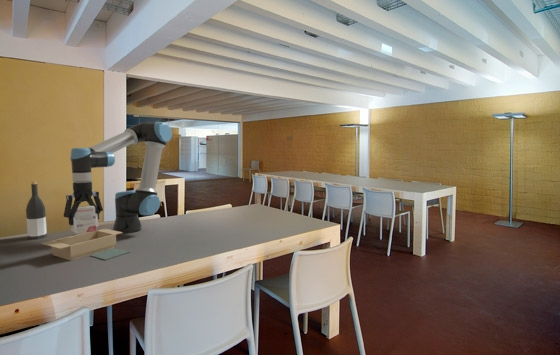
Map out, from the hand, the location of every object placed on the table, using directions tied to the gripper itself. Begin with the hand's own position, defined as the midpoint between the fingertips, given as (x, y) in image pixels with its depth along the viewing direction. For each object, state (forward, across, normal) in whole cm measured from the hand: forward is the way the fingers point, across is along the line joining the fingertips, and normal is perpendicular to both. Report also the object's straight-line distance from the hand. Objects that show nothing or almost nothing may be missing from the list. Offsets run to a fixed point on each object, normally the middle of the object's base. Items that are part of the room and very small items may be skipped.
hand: (85, 229), depth 149 cm
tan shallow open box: (+10, 0, 0) cm, 10 cm away
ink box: (+1, 0, 0) cm, 1 cm away
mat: (+10, -3, +14) cm, 18 cm away
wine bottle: (+11, 0, -43) cm, 45 cm away
